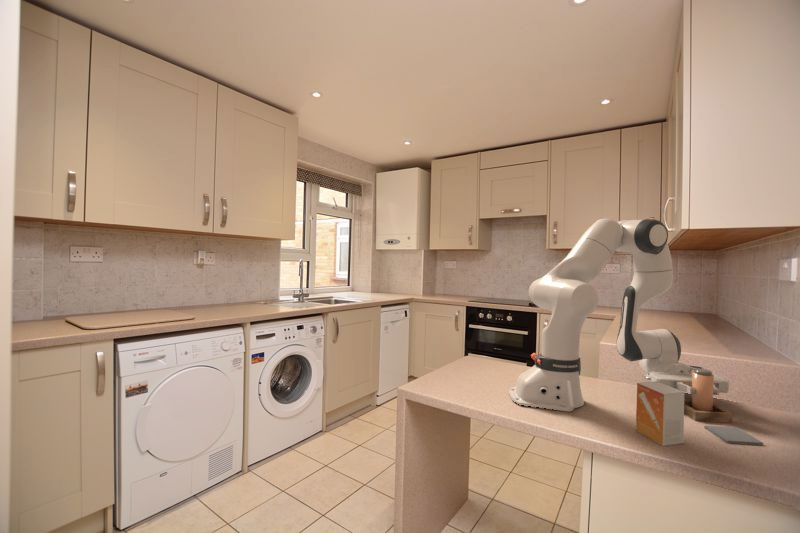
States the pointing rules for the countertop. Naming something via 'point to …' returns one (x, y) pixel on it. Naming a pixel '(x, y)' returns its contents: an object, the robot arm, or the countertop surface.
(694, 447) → the countertop surface
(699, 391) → the jar
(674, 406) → the small box
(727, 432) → the mat
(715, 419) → the brown wooden square tray
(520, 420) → the countertop surface
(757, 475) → the countertop surface
